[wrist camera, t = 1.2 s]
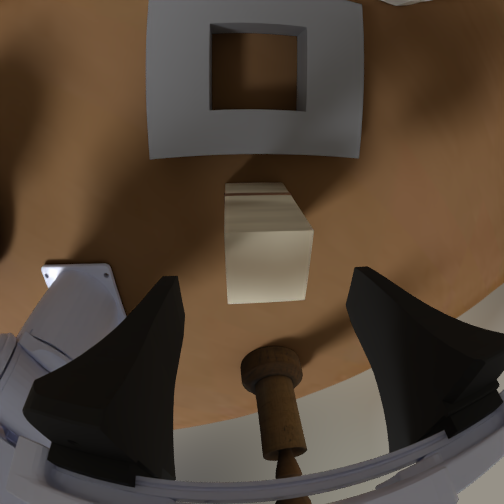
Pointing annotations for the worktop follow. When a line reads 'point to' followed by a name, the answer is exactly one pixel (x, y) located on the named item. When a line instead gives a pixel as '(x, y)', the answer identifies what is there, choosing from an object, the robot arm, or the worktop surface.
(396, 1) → the white cup
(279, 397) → the brown capped rod
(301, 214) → the peg
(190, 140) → the socket board
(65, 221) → the worktop surface
